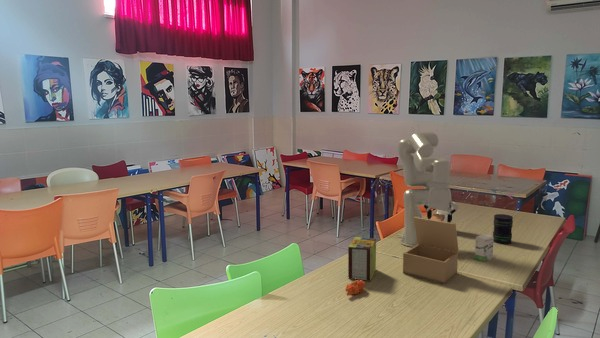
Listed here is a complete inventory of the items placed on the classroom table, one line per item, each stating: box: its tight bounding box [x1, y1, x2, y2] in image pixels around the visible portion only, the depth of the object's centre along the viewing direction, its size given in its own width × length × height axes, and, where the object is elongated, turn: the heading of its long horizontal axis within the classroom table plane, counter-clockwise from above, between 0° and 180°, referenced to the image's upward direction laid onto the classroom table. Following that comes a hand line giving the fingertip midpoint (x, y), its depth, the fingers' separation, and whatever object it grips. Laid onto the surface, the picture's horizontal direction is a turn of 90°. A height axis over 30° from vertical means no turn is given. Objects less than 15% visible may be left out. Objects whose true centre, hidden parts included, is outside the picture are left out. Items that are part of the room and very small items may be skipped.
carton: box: [402, 244, 459, 285], centre depth 208 cm, size 20×16×10 cm
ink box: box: [474, 233, 494, 262], centre depth 226 cm, size 9×5×12 cm, turn 123°
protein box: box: [347, 236, 377, 282], centre depth 208 cm, size 10×15×16 cm
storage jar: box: [492, 213, 514, 245], centre depth 252 cm, size 10×10×15 cm
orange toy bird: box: [345, 279, 366, 296], centre depth 189 cm, size 5×8×12 cm
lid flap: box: [414, 212, 460, 253], centre depth 212 cm, size 20×16×7 cm
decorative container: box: [436, 201, 455, 223], centre depth 274 cm, size 12×12×18 cm
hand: (439, 220), depth 212 cm, fingers open, 9 cm apart
